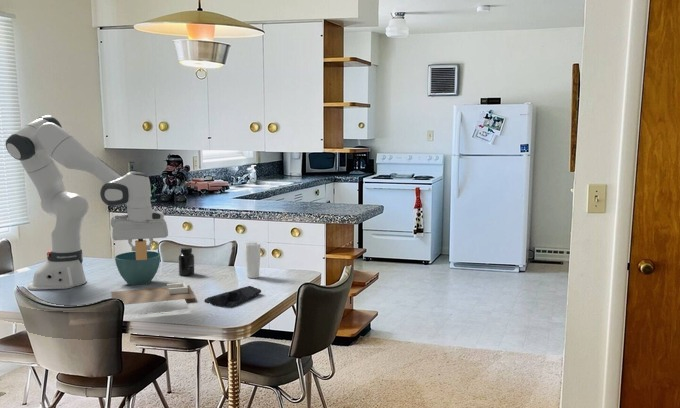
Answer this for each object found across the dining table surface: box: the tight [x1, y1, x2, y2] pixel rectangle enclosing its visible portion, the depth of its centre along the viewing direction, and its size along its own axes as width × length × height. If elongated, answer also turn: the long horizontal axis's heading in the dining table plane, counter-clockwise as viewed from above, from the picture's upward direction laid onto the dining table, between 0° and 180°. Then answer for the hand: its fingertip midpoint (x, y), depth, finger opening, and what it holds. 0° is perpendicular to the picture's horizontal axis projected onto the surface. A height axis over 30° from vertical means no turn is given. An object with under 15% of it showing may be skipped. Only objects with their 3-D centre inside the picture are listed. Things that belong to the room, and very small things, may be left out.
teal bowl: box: [114, 250, 161, 287], centre depth 263 cm, size 18×18×12 cm
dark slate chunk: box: [203, 285, 262, 308], centre depth 241 cm, size 15×22×5 cm
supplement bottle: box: [178, 247, 195, 277], centre depth 280 cm, size 7×7×12 cm
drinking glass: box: [244, 242, 262, 279], centre depth 275 cm, size 7×7×15 cm
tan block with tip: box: [134, 239, 148, 260], centre depth 237 cm, size 4×4×10 cm
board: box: [110, 284, 197, 305], centre depth 241 cm, size 30×20×2 cm, turn 110°
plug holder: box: [166, 282, 188, 294], centre depth 247 cm, size 7×8×2 cm
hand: (141, 250), depth 238 cm, fingers closed on tan block with tip, 4 cm apart
